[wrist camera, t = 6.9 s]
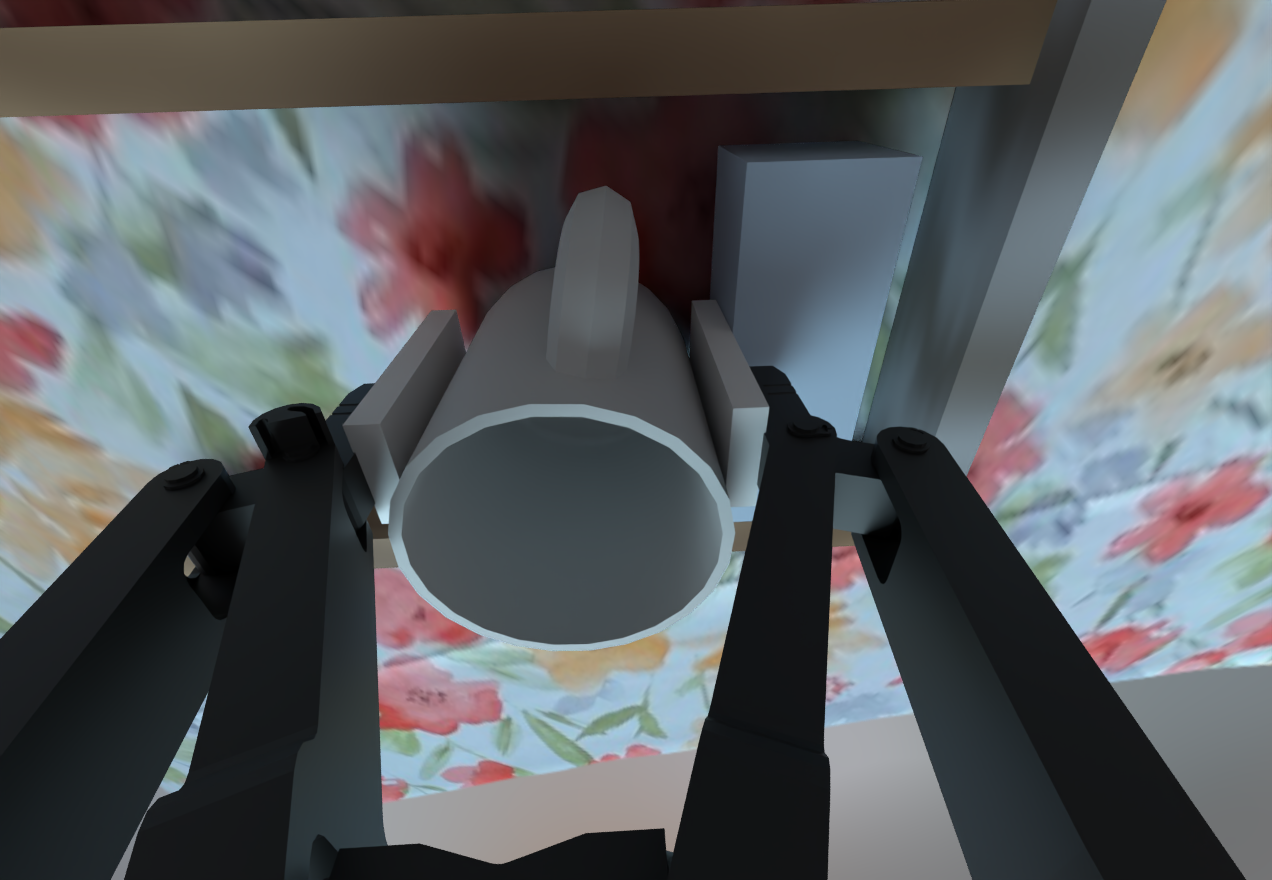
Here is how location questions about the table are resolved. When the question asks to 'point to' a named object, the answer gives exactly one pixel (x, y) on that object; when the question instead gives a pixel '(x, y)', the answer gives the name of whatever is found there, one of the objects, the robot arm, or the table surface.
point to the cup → (568, 460)
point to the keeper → (810, 262)
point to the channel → (705, 65)
